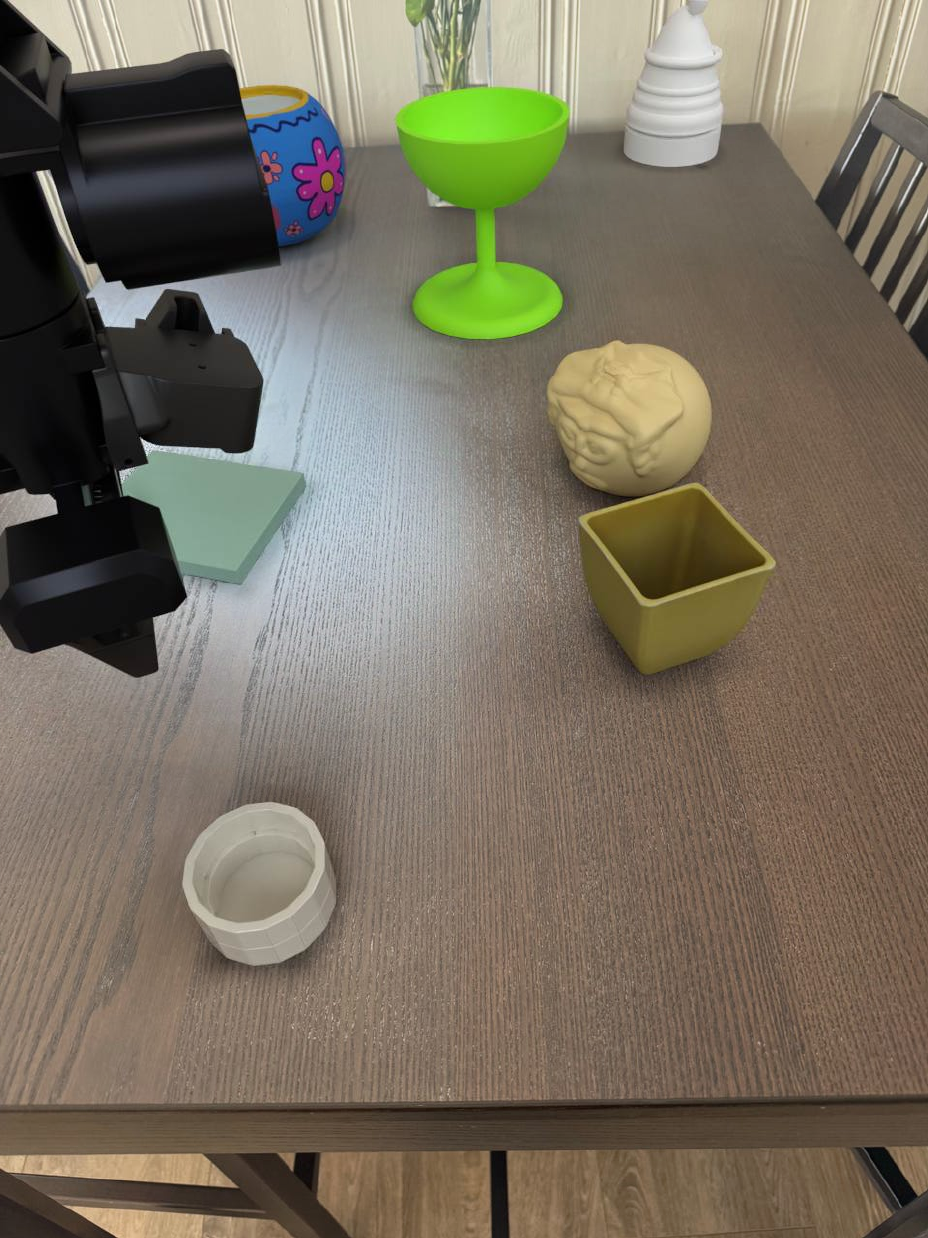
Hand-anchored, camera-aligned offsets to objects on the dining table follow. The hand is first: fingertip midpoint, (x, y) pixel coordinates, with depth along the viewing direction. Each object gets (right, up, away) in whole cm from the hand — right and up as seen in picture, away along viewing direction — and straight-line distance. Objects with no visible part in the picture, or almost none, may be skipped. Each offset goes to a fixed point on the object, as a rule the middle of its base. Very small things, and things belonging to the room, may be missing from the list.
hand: (133, 607), depth 43 cm
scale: (-5, +7, +27) cm, 28 cm away
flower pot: (+29, -2, +16) cm, 33 cm away
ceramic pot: (-6, +46, +64) cm, 79 cm away
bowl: (+6, -16, +4) cm, 17 cm away
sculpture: (+30, +11, +29) cm, 43 cm away
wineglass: (+19, +33, +50) cm, 63 cm away
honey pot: (+45, +64, +78) cm, 111 cm away
